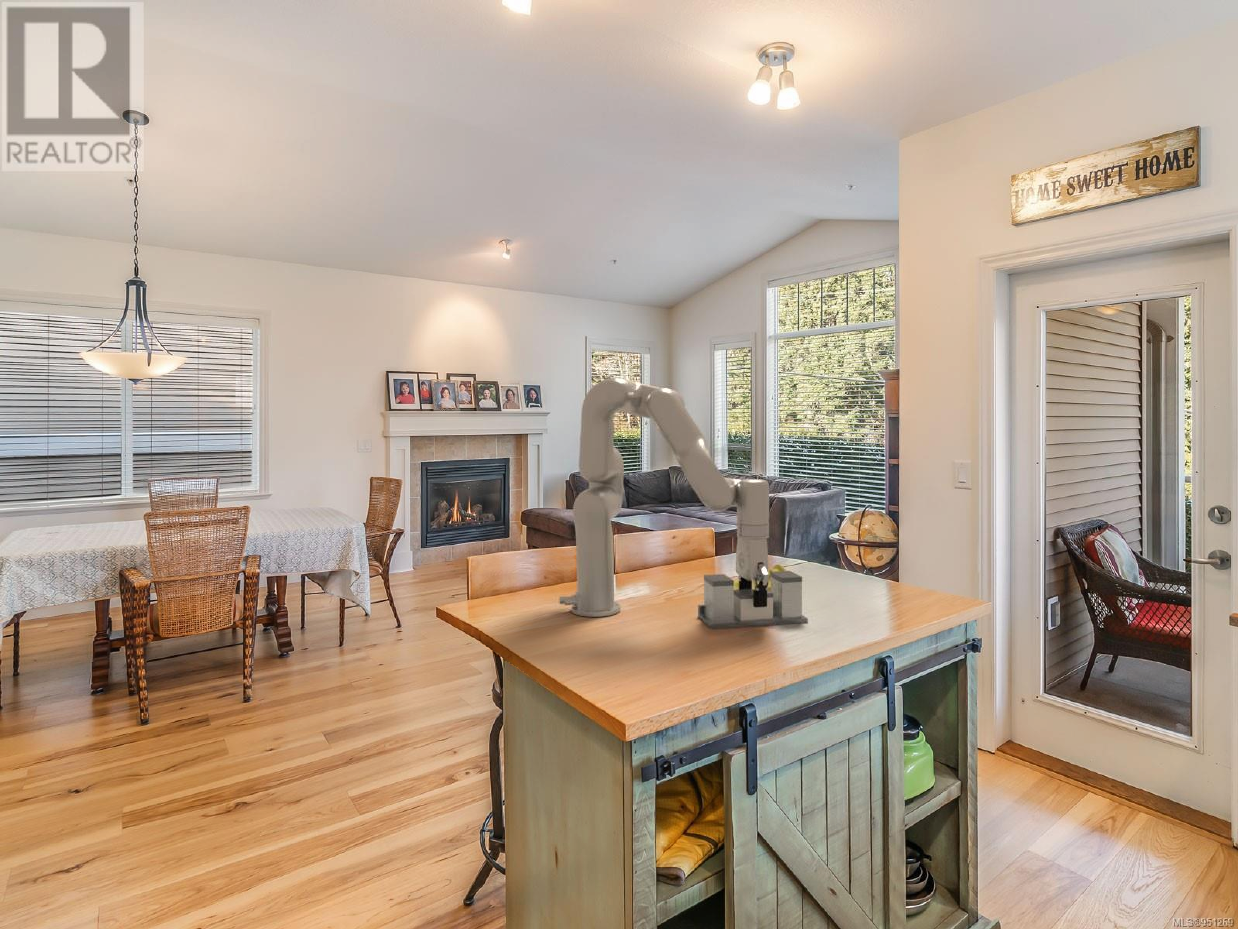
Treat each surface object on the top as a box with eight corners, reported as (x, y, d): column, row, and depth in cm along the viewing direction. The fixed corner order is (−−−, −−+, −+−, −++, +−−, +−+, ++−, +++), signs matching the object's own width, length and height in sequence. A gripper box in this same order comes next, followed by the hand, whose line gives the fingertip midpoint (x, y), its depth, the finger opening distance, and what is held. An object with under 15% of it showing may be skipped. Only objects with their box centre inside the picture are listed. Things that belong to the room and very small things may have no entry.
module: (740, 620, 156) (740, 595, 155) (733, 614, 161) (733, 590, 160) (773, 618, 157) (773, 593, 157) (765, 612, 162) (765, 588, 162)
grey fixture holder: (710, 628, 153) (710, 582, 152) (698, 617, 163) (697, 573, 162) (807, 622, 157) (807, 577, 156) (789, 611, 167) (789, 569, 166)
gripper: (726, 526, 166) (725, 593, 167) (751, 537, 149) (750, 612, 149) (754, 525, 167) (754, 592, 168) (782, 536, 150) (781, 610, 151)
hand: (752, 601), depth 159 cm, fingers open, 9 cm apart
